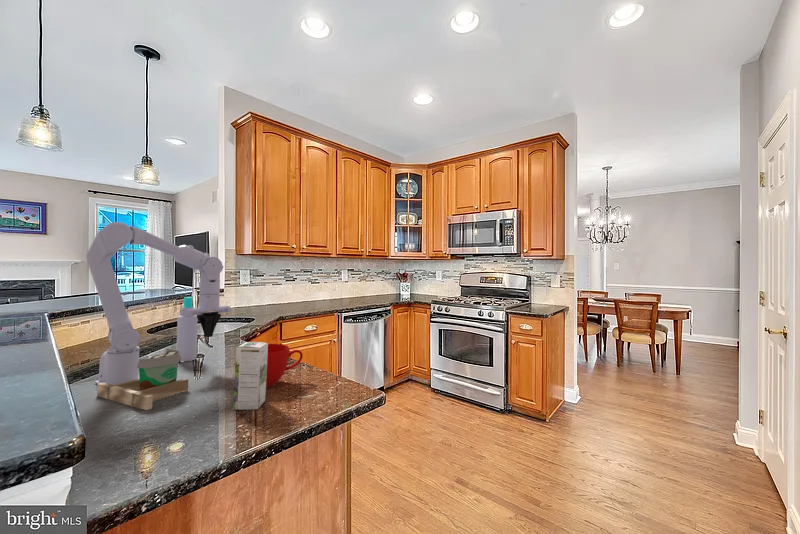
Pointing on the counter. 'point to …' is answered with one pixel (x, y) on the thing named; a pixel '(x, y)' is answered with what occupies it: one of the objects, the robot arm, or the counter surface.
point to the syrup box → (250, 375)
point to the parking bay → (139, 392)
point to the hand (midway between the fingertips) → (208, 336)
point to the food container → (158, 369)
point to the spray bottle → (187, 333)
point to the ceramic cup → (278, 362)
